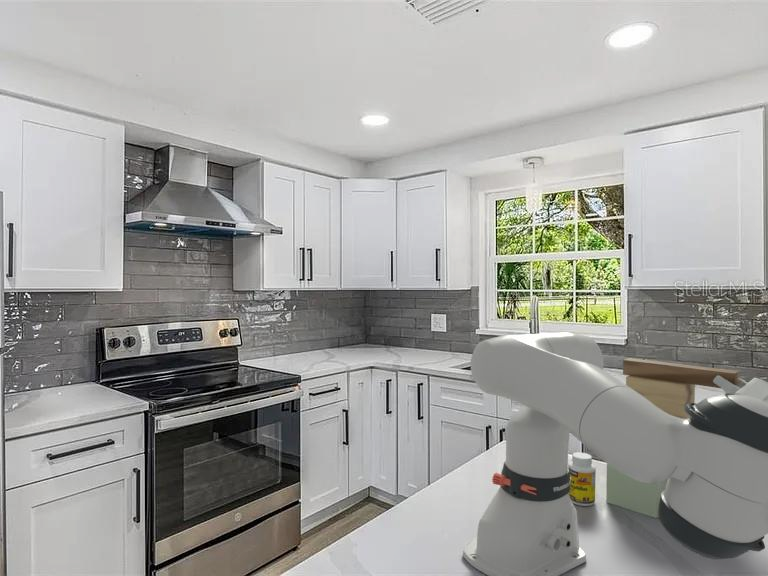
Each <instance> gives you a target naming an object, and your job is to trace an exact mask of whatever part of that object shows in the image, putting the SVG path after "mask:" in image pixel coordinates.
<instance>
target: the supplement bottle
mask: <svg viewBox="0 0 768 576" xmlns="http://www.w3.org/2000/svg"><path fill="white" fill-rule="evenodd" d="M571 455H572V457H571V460H572V461H569V462H568V468H569V470H570V477H571V483H570V491H569V496H570V499H571V501H572V503H573V505H577V506H581V507H590V506H593V505H594V504H595V502H596V472H597V471H596V466H595V464H593V456H592V455H591V454H589V453H586V452H577V451H576V452H574V453H572V454H571Z"/></svg>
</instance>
